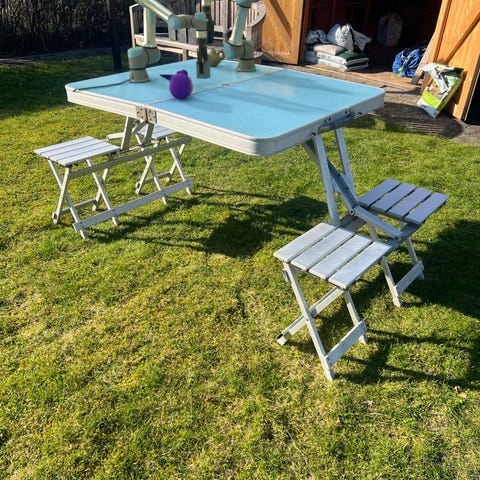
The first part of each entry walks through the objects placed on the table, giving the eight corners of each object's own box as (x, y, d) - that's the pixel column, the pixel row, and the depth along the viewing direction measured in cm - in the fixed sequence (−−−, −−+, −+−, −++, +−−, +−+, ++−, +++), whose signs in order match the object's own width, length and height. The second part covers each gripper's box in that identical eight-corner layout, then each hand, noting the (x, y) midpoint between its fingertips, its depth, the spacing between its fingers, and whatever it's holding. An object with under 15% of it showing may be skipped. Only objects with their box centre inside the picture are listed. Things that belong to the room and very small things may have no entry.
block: (207, 79, 318) (206, 62, 312) (196, 78, 320) (195, 61, 314) (210, 77, 323) (209, 60, 317) (200, 76, 325) (199, 60, 320)
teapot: (206, 68, 381) (205, 49, 373) (200, 66, 390) (199, 47, 382) (228, 65, 390) (227, 47, 383) (221, 64, 399) (221, 45, 391)
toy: (183, 91, 304) (192, 105, 283) (157, 86, 297) (165, 100, 276) (187, 67, 296) (198, 79, 275) (161, 62, 289) (170, 74, 268)
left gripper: (201, 39, 299) (202, 75, 311) (211, 36, 315) (213, 70, 327) (190, 39, 301) (192, 75, 313) (202, 35, 317) (203, 70, 329)
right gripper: (204, 6, 349) (205, 36, 360) (216, 5, 370) (217, 33, 380) (195, 6, 352) (197, 36, 362) (208, 5, 372) (209, 33, 383)
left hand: (203, 72), depth 320 cm, fingers closed on block, 6 cm apart
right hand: (207, 34), depth 371 cm, fingers open, 13 cm apart
